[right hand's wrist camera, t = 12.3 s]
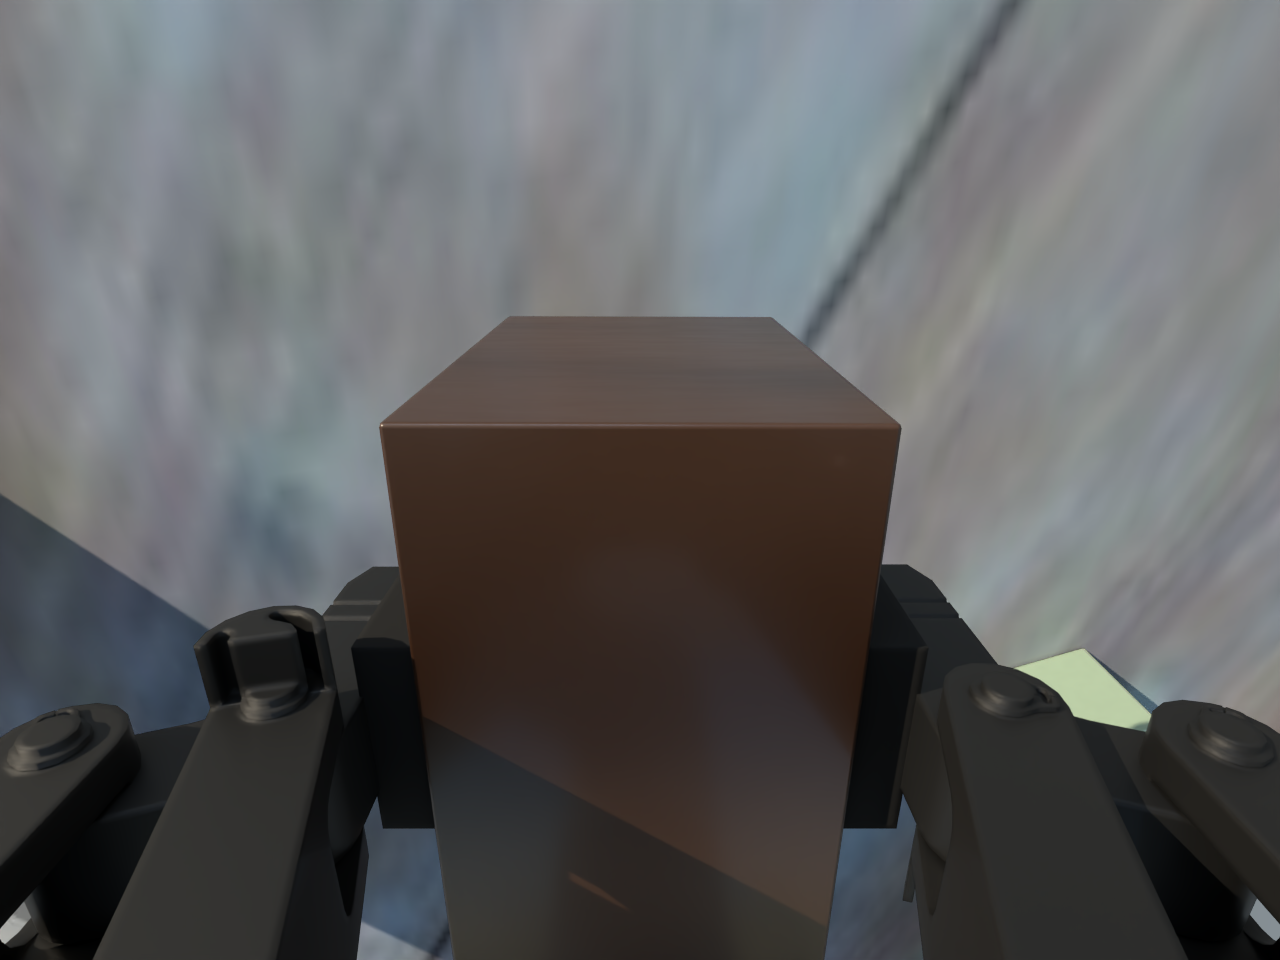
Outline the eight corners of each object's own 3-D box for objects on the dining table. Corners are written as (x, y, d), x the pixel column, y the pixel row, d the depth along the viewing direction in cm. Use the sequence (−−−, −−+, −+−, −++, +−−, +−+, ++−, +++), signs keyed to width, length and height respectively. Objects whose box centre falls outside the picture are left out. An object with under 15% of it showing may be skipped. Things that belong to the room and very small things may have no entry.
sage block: (1083, 646, 30) (1164, 725, 26) (1097, 733, 32) (1175, 822, 27) (969, 679, 31) (1028, 762, 26) (989, 762, 33) (1047, 854, 28)
